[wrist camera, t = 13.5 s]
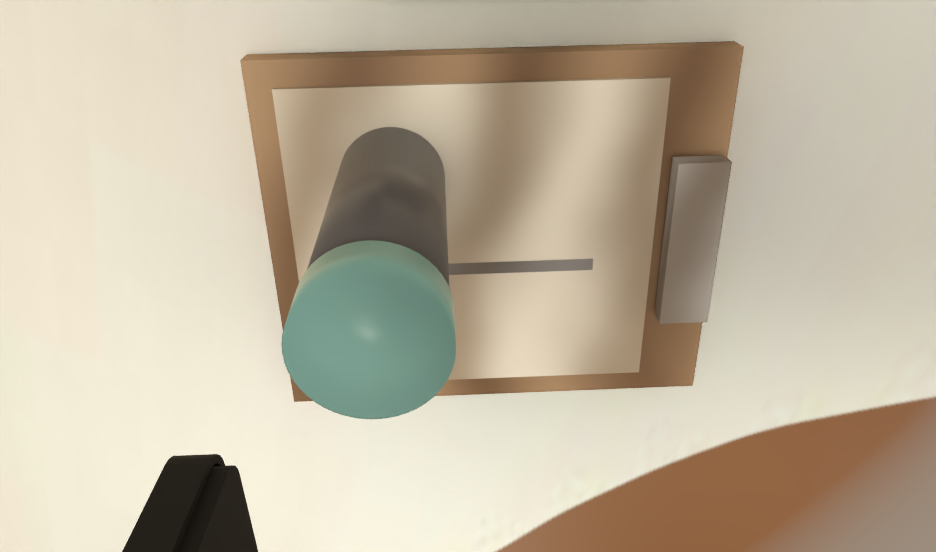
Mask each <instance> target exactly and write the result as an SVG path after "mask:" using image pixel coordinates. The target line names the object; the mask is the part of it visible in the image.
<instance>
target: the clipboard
mask: <svg viewBox="0 0 936 552" xmlns="http://www.w3.org/2000/svg"><path fill="white" fill-rule="evenodd" d="M743 48H744V47H743V46H741V45H739V44H738V43H736V42H734V41H733V42H696V43H659V44H622V45H586V46H549V47H512V48H475V49H438V50H402V51H365V52H328V53H291V54H254V55H246V56H245V57H244V58H243V59H242V60H241V67H242V74H243V80H244V86H245V93H246V99H247V105H248V112H249V118H250V124H251V131H252V137H253V143H254V150H255V156H256V162H257V169H258V175H259V181H260V188H261V194H262V200H263V207H264V213H265V219H266V226H267V232H268V238H269V245H270V251H271V257H272V264H273V270H274V276H275V283H276V289H277V295H278V302H279V308H280V314H281V321H282V327H283V330H284V326H285V323H286V320H287V317H288V314H289V311H290V308H291V305H292V301H293V298H294V295H295V292H296V289H297V287H298V284H299V282H300V280H301V278H302V276H303V275H304V273H305V271H306V270H307V268H308V265H309V262H310V258H311V255H312V252H313V249H314V246H315V243H316V240H317V237H318V233H319V230H320V227H321V224H322V221H323V218H324V215H325V211H326V208H327V205H328V202H329V199H330V196H331V193H332V190H333V186H334V183H335V180H336V177H337V174H338V171H339V168H340V164H341V161H342V159H343V156H344V154H345V152H346V151H347V149H348V148H349V146H350V145H351V144H352V143H353V142H354V141H355V140H356V139H357V138H358V137H360V136H361V135H363V134H365V133H367V132H369V131H371V130H374V129H378V128H383V127H398V128H404V129H407V130H410V131H412V132H415V133H417V134H419V135H420V136H422V137H423V138H425V139H426V140H427V141H428V142H429V143H430V144H431V145H432V146H433V147H434V148H435V150H436V151H437V153H438V155H439V156H440V158H441V161H442V163H443V167H444V173H445V193H446V217H447V240H448V264H449V288H450V291H451V294H452V298H453V303H454V316H455V336H456V357H455V362H454V366H453V369H452V372H451V374H450V376H449V378H448V380H447V382H446V383H445V385H444V386H443V387H442V389H441V390H440V391H439V392H438V393H437V394H436V395H435V396H446V395H471V394H495V393H520V392H545V391H569V390H594V389H619V388H644V387H668V386H693V380H694V373H695V367H696V360H697V353H698V347H699V340H700V334H701V327H702V322H707V319H708V312H709V306H710V300H711V293H712V287H713V280H714V274H715V267H716V261H717V254H718V248H719V241H720V235H721V228H722V222H723V215H724V209H725V202H726V196H727V189H728V183H729V176H730V170H731V163H732V162H731V161H730V160H729V159H728V158H727V155H728V148H729V141H730V135H731V128H732V121H733V115H734V108H735V102H736V95H737V88H738V82H739V75H740V68H741V62H742V55H743ZM290 377H291V376H290ZM291 384H292V390H293V396H294V402H297V401H313V400H312V399H310V398H309V397H308V396H307V395H306V394H305V393H304V392H303V391H302V390H301V389H300V388H299V387H298V386H297V385H296V383H295V382H294V381H293V379H292V377H291Z"/></svg>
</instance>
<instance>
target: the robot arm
mask: <svg viewBox="0 0 936 552" xmlns="http://www.w3.org/2000/svg"><path fill="white" fill-rule="evenodd" d="M122 552H258V549H257V545H256V541H255V537H254V533H253V528H252V524H251V520H250V516H249V512H248V507H247V503H246V499H245V495H244V491H243V486H242V482H241V478H240V474H239V471H238V469H237V467H236V466H225V464H224V461H223V459H222V457H221V456H220V455H217V454H213V455H186V456H173V457H171V458H170V459H169V460H168V461H167V463H166V464H165V466H164V468H163V470H162V472H161V474H160V476H159V478H158V480H157V482H156V484H155V486H154V488H153V490H152V492H151V494H150V497H149V499H148V501H147V503H146V505H145V507H144V509H143V511H142V513H141V515H140V517H139V519H138V521H137V523H136V525H135V527H134V529H133V531H132V533H131V535H130V537H129V539H128V541H127V543H126V545H125V547H124V549H123V551H122Z"/></svg>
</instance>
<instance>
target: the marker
mask: <svg viewBox="0 0 936 552" xmlns="http://www.w3.org/2000/svg"><path fill="white" fill-rule="evenodd" d="M282 354H283V358H284V362H285V365H286V367H287V370H288V372H289V374H290V376H291V377H292V379H293V381H294V382H295V383H296V385H297V386H298V387H299V388H300V389H301V390H302V391H303V392H304V393H305V394H306V395H307V396H308V397H309V398H310V399H312V400H313V401H314V402H316V403H317V404H319V405H321V406H322V407H324V408H326V409H328V410H331V411H333V412H335V413H338V414H341V415H345V416H349V417H354V418H362V419H382V418H389V417H394V416H399V415H402V414H405V413H408V412H410V411H412V410H415V409H417V408H418V407H420V406H422V405H423V404H425V403H427V402H428V401H429V400H430V399H432V398H433V397H434V396H435V395H436V394H437V393H438V392H439V391H440V390H441V389H442V387H443V386H444V385H445V383H446V382H447V380H448V378H449V376H450V374H451V372H452V369H453V366H454V362H455V357H456V336H455V316H454V303H453V298H452V294H451V291H450V288H449V264H448V240H447V217H446V193H445V173H444V167H443V163H442V161H441V158H440V156H439V155H438V153H437V151H436V150H435V148H434V147H433V146H432V145H431V144H430V143H429V142H428V141H427V140H426V139H425V138H423V137H422V136H420V135H419V134H417V133H415V132H412V131H410V130H407V129H404V128H398V127H383V128H378V129H374V130H371V131H369V132H367V133H365V134H363V135H361V136H360V137H358V138H357V139H356V140H355V141H354V142H353V143H352V144H351V145H350V146H349V148H348V149H347V151H346V152H345V154H344V156H343V159H342V161H341V164H340V168H339V171H338V174H337V177H336V180H335V183H334V186H333V190H332V193H331V196H330V199H329V202H328V205H327V208H326V211H325V215H324V218H323V221H322V224H321V227H320V230H319V233H318V237H317V240H316V243H315V246H314V249H313V252H312V255H311V258H310V262H309V265H308V268H307V270H306V271H305V273H304V275H303V276H302V278H301V280H300V282H299V284H298V287H297V289H296V292H295V295H294V298H293V301H292V305H291V308H290V311H289V314H288V317H287V320H286V323H285V326H284V330H283V334H282Z"/></svg>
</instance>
